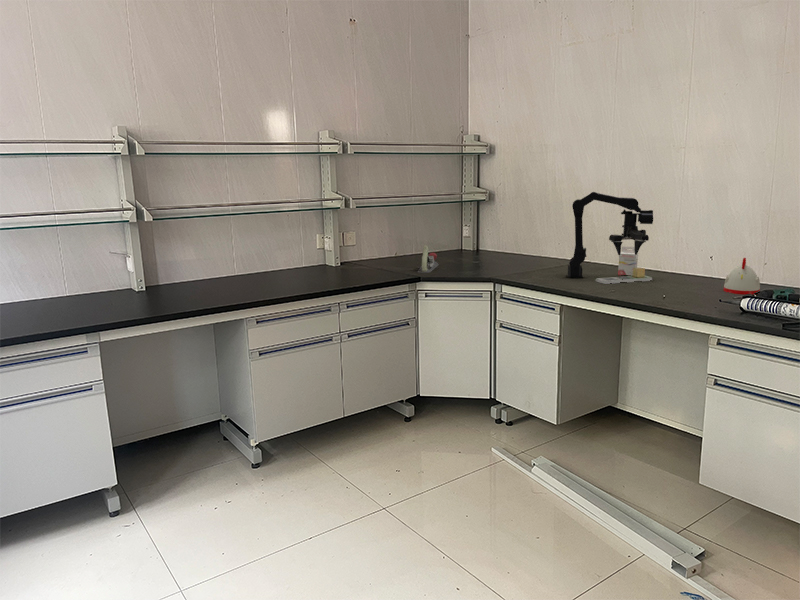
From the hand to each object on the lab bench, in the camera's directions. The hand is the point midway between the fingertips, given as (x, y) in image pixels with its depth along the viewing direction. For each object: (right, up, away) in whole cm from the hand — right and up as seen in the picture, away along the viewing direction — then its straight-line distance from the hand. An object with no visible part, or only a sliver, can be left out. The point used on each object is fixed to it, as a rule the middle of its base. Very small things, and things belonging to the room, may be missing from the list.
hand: (627, 254), depth 297 cm
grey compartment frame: (-3, -13, -4) cm, 14 cm away
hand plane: (-98, -5, +49) cm, 109 cm away
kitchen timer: (+37, -19, -34) cm, 54 cm away
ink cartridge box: (+4, -10, +12) cm, 16 cm away
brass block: (+5, -13, -2) cm, 14 cm away
